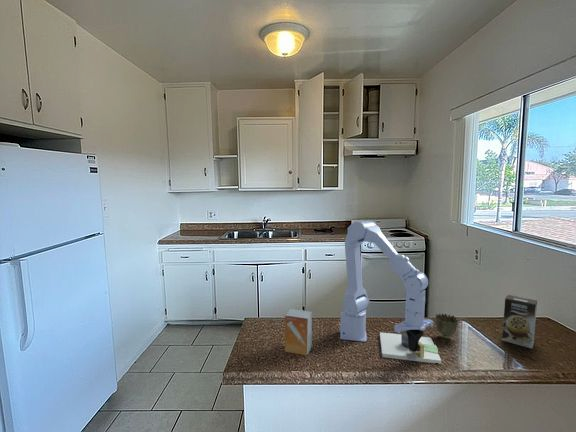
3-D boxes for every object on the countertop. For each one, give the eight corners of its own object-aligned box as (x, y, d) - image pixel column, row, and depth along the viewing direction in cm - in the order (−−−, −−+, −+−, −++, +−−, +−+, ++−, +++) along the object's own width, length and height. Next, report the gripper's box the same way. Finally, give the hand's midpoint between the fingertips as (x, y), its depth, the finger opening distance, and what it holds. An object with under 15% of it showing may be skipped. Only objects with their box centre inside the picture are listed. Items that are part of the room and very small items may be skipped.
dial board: (382, 359, 103) (382, 355, 102) (379, 335, 120) (379, 331, 119) (444, 367, 98) (444, 362, 98) (432, 341, 115) (432, 337, 115)
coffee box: (501, 340, 116) (504, 298, 114) (504, 334, 120) (507, 293, 119) (532, 349, 109) (535, 304, 108) (534, 342, 114) (537, 299, 113)
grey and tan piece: (398, 341, 111) (399, 330, 111) (410, 341, 112) (411, 330, 112) (415, 358, 100) (416, 346, 100) (428, 357, 101) (429, 345, 101)
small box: (284, 352, 107) (284, 315, 106) (289, 343, 113) (290, 308, 112) (307, 356, 104) (307, 318, 103) (311, 347, 110) (312, 311, 109)
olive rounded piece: (459, 343, 113) (460, 322, 113) (437, 341, 115) (438, 320, 114) (453, 334, 121) (454, 314, 120) (432, 332, 122) (433, 312, 122)
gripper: (405, 317, 96) (404, 360, 97) (441, 311, 101) (439, 352, 102) (390, 309, 103) (388, 349, 104) (424, 304, 108) (422, 342, 109)
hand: (412, 350), depth 104 cm, fingers closed, pressing on grey and tan piece
